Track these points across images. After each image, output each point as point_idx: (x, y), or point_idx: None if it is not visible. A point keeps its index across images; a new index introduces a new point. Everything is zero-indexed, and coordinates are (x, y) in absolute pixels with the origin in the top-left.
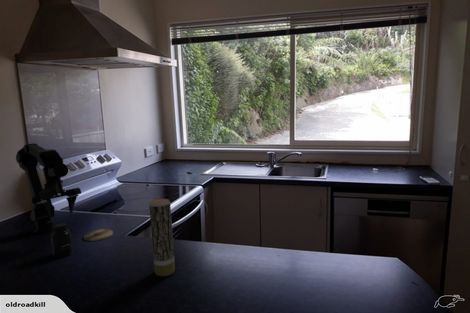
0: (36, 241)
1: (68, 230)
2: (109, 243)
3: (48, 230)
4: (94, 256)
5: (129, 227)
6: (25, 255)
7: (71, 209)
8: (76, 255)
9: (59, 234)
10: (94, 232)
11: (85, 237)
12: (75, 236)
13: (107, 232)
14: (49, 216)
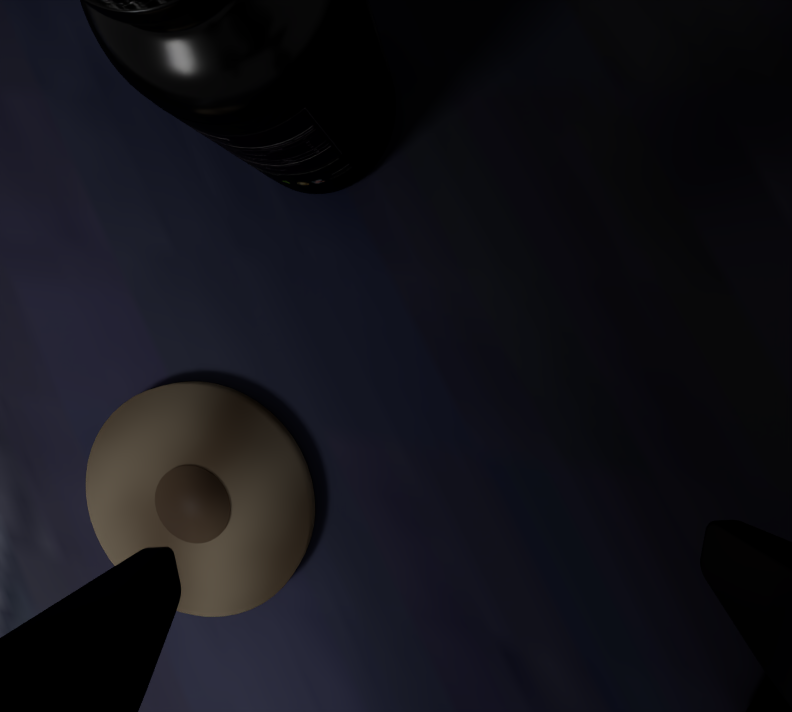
0: (772, 446)
1: (96, 21)
2: (48, 325)
3: (770, 689)
4: (47, 75)
5: None
6: (699, 92)
7: (39, 625)
8: None
9: None
10: (244, 549)
11: (272, 441)
12: (406, 516)
13: (132, 529)
14: (744, 534)
